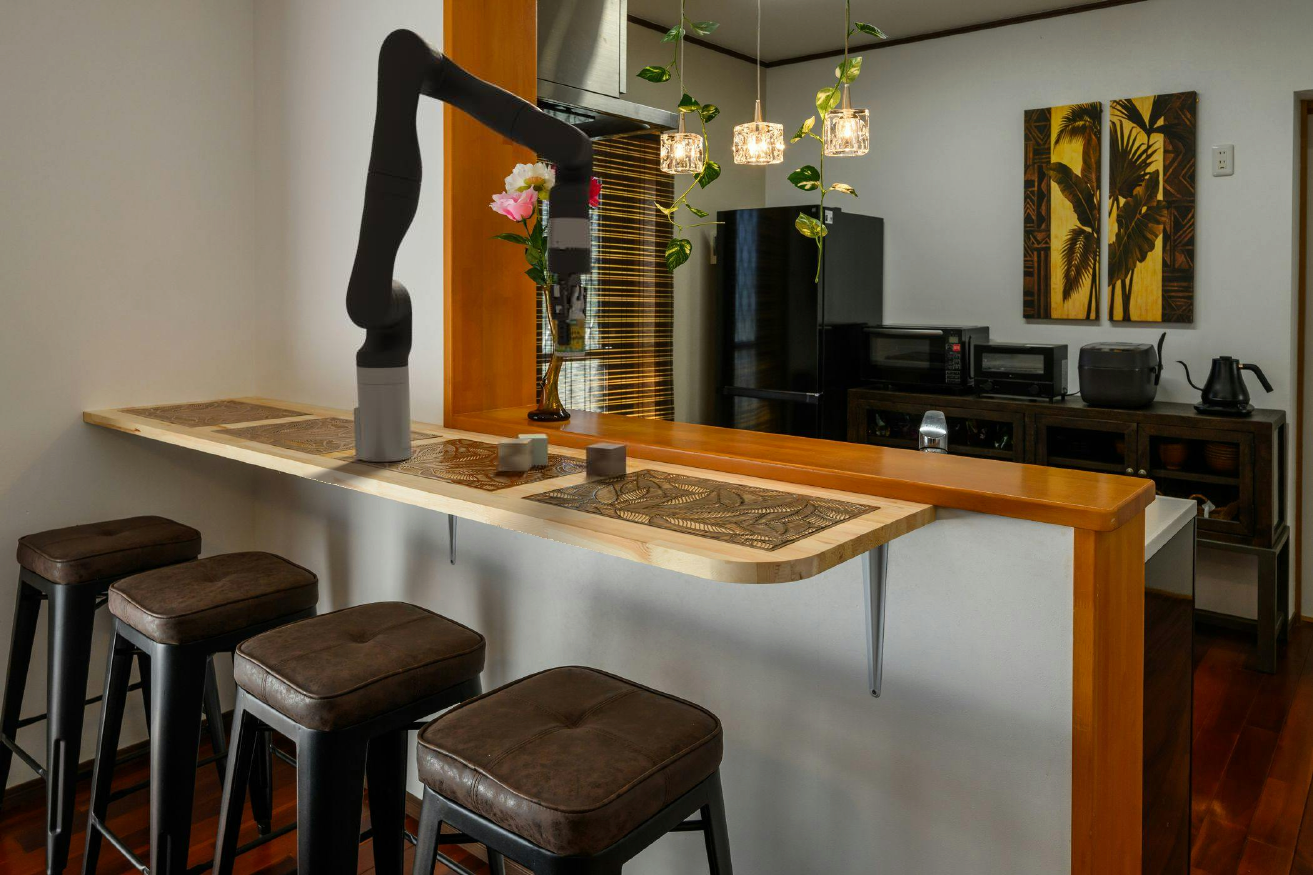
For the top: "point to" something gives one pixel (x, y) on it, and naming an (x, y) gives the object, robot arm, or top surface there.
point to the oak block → (515, 454)
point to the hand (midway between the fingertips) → (569, 344)
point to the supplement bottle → (573, 335)
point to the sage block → (538, 448)
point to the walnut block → (606, 460)
